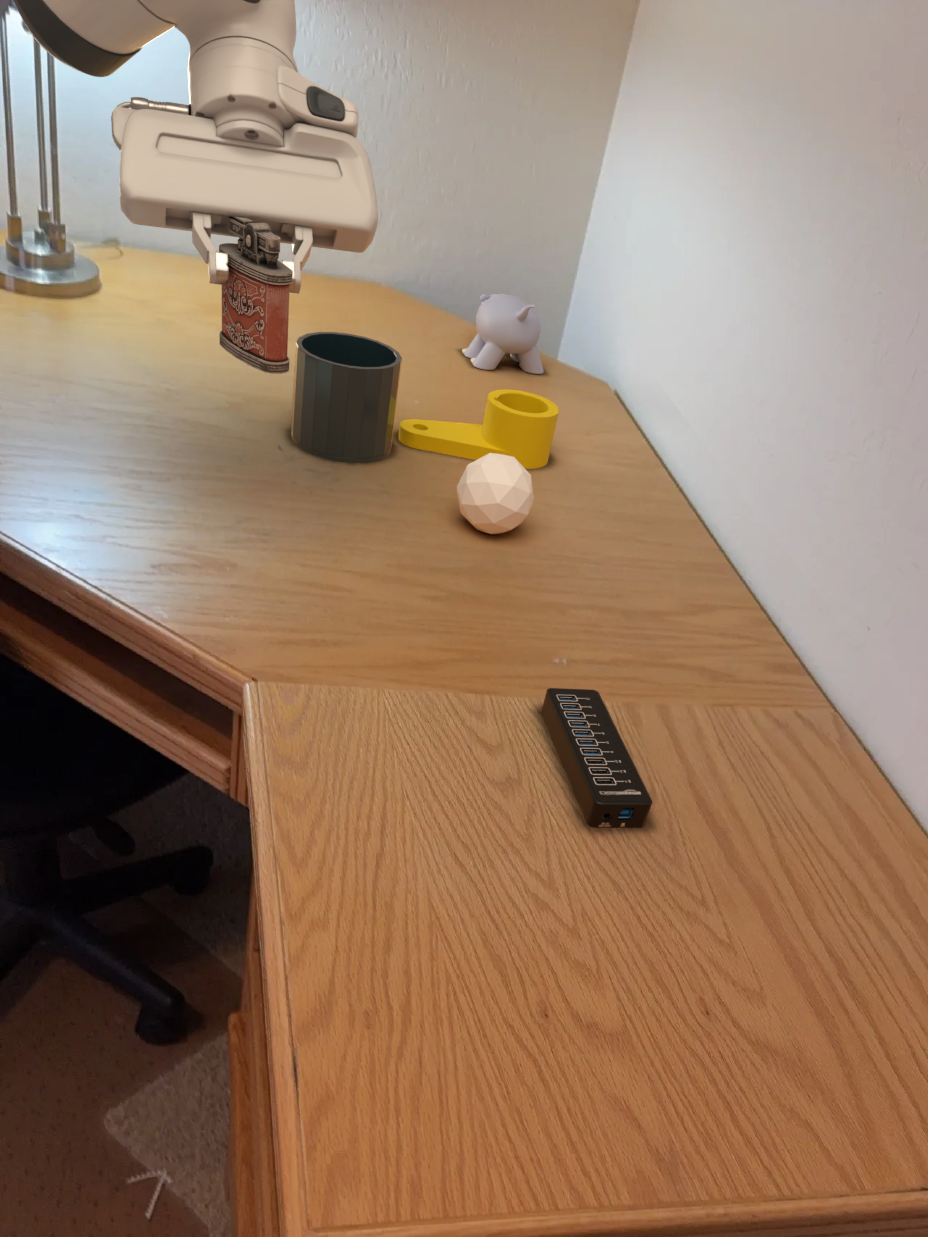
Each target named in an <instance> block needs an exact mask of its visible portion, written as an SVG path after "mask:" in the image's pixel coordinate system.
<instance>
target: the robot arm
mask: <svg viewBox="0 0 928 1237" xmlns="http://www.w3.org/2000/svg"><path fill="white" fill-rule="evenodd" d="M13 3H14V5H15V7H16V10H17V12H18V13H19V16H20V17H21V19H22V21H23V23H24V25H25V27H26V28H27V30H28V32H29V33H30V34H31V36H32V37H33V39H34V40H35V41H36V43H38V44H39V46H40V47H41V48H42V49H44V51H45V52H47V53H48V54H49V55H50V56H51V57H53V58H55V59H56V60H57V61H59V62H60V63H62V64H64V65H65V66H67V67H69V68H71V69H73V70H75V71H77V72H80V73H83V74H86V75H88V76H92V77H96V78H105V77H109V76H111V75H113V74H114V73H115V72H117V70H120V68H121V67H123V66H124V65H125V64H126V63H127V62H128V61H130V60H131V59H132V58H133V57H135V56H136V55H137V54H138V53H140V51H141V50H142V49H143V48H144V46H147V45H148V44H149V43H151V42H153V41H154V40H156V39H157V38H159V37H161V36H162V35H164V34H165V33H167V32H168V31H170V30H172V29H173V28H175V29H177V30H178V31H179V32H180V33H181V34H183V35H184V37H185V38H186V40H187V41H188V43H189V54H188V60H187V80H188V81H187V84H188V97H189V98H188V99H189V104H184V103H177V102H173V101H156V100H151V99H148V98H146V97H141V96H133V97H132V96H131V97H130V101H124V102H121V103H119V104H117V105H116V106H115V107H114V108H113V110H112V113H111V116H110V121H111V122H110V123H111V136H112V140H113V143H114V144H115V146H116V147H117V149H118V151H120V155H119V203H120V204H119V205H120V210H121V212H122V214H123V215H124V216H125V217H126V219H127V220H128V221H129V222H130V223H131V224H133V225H138V226H145V227H153V228H160V229H170V230H178V231H185V232H191V240H192V244H193V246H194V247H195V249H196V251H197V252H198V254H199V255H200V256H201V258H202V259H203V262H204V263H205V264H206V265H207V275H208V283H209V284H211V285H219V286H220V285H221V286H222V285H228V279H229V267H228V254H227V253H221V252H219V251H218V249H217V248H216V246H215V245H214V243H213V242H212V240H211V236H212V235H216V236H224V237H225V236H226V237H233V238H239V237H238V236H236V235H234V234H232V233H231V232H229V231H228V216H237V217H245V218H248V219H250V220H252V221H253V223H267V224H268V225H269V226H270V228H271V232H272V234H274V235H276V236H278V237H280V244H288V245H291V250H292V251H291V252H292V253H291V254H292V255H294V257H293V258H292V260H285V259H283V260H281V263H283V264H284V265H286V266H287V267H288V268H290V269H291V270H292V271H293V275H292V283H290V290H289V294H300V292H301V286H302V270H303V268H304V267H305V265H306V263H307V262H308V261H309V258H310V255H311V251H312V248H319V249H326V250H327V249H328V250H336V251H341V252H350V253H356V254H357V253H358V254H359V253H361V254H362V253H364V252H365V251H366V250H367V249H368V248H369V246H370V245H371V244H372V243H373V240H374V238H375V236H376V232H377V228H378V224H379V210H378V200H377V193H376V185H375V179H374V174H373V170H372V164H371V161H370V157H369V154H368V152H367V150H366V148H365V147H364V145H363V144H362V143H361V141H360V140H359V139H357V137H358V132H359V131H358V130H359V110H358V107H357V106H356V105H355V103H353V102H352V101H350V100H349V99H347V98H345V97H343V96H341V95H339V94H337V93H334V92H333V91H331V90H329V89H326V88H325V87H323V86H321V85H319V84H317V83H316V82H313V81H312V80H310V79H309V78H307V77H305V76H304V75H302V74H301V73H299V70H298V66H297V63H296V60H295V58H294V50H295V47H296V46H295V45H296V41H297V15H296V14H297V13H296V4H295V3H296V2H295V0H13Z"/></svg>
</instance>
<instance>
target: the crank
mask: <svg viewBox="0 0 928 1237" xmlns="http://www.w3.org/2000/svg"><path fill="white" fill-rule="evenodd" d="M484 410H485V411H484V415H483V421H482V424H480V423H468V422H467V423H466V422H457V421H444V420H429V419H418V418H408V419H407V418H406V419H403V420H401V421H400V423H399V430H398V437H397V438H398V441H399V442H400V443H401V444H403V445H404V446H406V447H410V448H413V449H416V450H422V451H427V452H434V453H437V454H443V455H447V456H453V457H459V458H462V459H463V458H464V459H468V460H473V461H476V460H477V459H479V458H481V457H483V456H485V455H487V454H489V453H496V454H503V455H507V456H512V457H515V458H516V460H517V461H518V462H519V463H520V464H521V465H522V466H523V467H524V468H525V469H526V470H531V469H532V470H534V469H540V468H542V467H544V466H546V465H547V464H548V462H549V458H550V453H551V449H552V444H553V440H554V439H553V438H554V435H555V430H556V425H557V421H558V416H559V412H560V409H559V406H557V404H556V403H554V401H551V400H550V399H548V398H546V397H544V396H542V395H538V394H536V393H532V392H529V391H524V390H519V389H518V390H517V389H507V388H506V389H503V388H502V389H496V390H495V389H494V390H493V391H490V392H489V393H488V394H487V398H486V403H485V409H484Z"/></svg>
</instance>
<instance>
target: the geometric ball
mask: <svg viewBox="0 0 928 1237" xmlns="http://www.w3.org/2000/svg"><path fill="white" fill-rule="evenodd" d="M455 489H456V494H457V501H458V508H459V514H461V515H462V517H464V518H465V519H466V520H467V521H468V522H469V524H471V526H473V527H474V529H476V530H477V531H479V532H482V533H485V534H489V535H500V534H504V533H507V532H509V531H512V530H514V529H515V528H516V527H518V526H519V525H521V524H522V523H523V522H524V521H525V520H526V518H527V517H528V516H529V513H530V512H531V508H532V506H533V504H534V502H535V495H534V489H533V481H532V474H530V472H529V471H528V469H525V468H524V467H523V466H522V465H521V464H520V463H519V462H518V461H517V460H516V458H515V457H512V456H507V455H503V454H496V453H489V454H487V455H485V456H483V457H481V458H479V459H477V460H473V461H472V462H470V463H468V464H467V465H466V467H465V469H464V471H463V473H462V475H461V477H460V479H459V481H458V483H457V485H456V488H455Z"/></svg>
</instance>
